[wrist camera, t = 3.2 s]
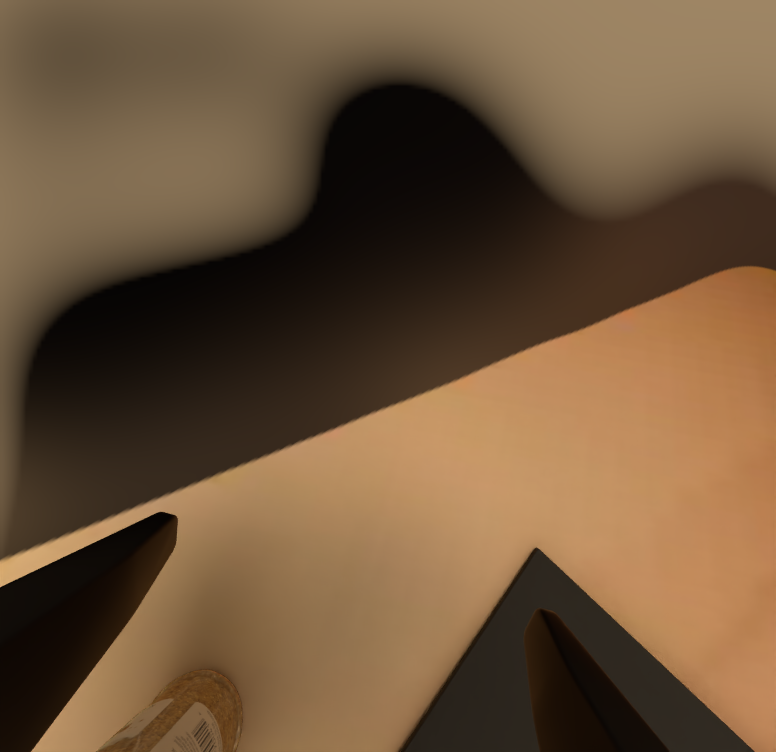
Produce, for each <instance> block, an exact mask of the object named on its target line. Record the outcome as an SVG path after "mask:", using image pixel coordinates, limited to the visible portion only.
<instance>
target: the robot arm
mask: <svg viewBox="0 0 776 752" xmlns="http://www.w3.org/2000/svg"><path fill="white" fill-rule="evenodd" d="M177 526H178V518H177V516H175V515H172V514H168V513H165V512H158V513H156V514H154V515H151V516H149V517H147V518H145V519H143V520H141V521H139V522H137V523H135V524H133V525H130V526H128V527H126V528H124V529H122V530H120V531H118V532H116V533H114V534H111V535H109V536H107V537H105V538H103V539H101V540H99V541H97V542H95V543H93V544H90V545H88V546H86V547H84V548H82V549H80V550H78V551H76V552H74V553H71V554H69V555H67V556H65V557H63V558H61V559H59V560H57V561H55V562H52V563H50V564H48V565H46V566H44V567H42V568H40V569H38V570H36V571H34V572H31V573H29V574H27V575H25V576H23V577H21V578H19V579H17V580H15V581H12V582H10V583H8V584H6V585H4V586H2V587H0V752H31V751H32V749H33V748H34V747H35V745H36V744H37V743H38V741H39V740H40V739H41V738H42V736H43V735H44V734H45V732H46V731H47V730H48V728H49V727H50V726H51V724H52V723H53V722H54V720H55V719H56V718H57V716H58V715H59V714H60V712H61V711H62V710H63V708H64V707H65V706H66V704H67V703H68V702H69V700H70V699H71V698H72V696H73V695H74V694H75V692H76V691H77V690H78V688H79V687H80V686H81V684H82V683H83V682H84V680H85V679H86V678H87V676H88V675H89V674H90V672H91V671H92V670H93V668H94V667H95V666H96V664H97V663H98V662H99V660H100V659H101V658H102V656H103V655H104V654H105V652H106V651H107V650H108V648H109V647H110V646H111V644H112V643H113V642H114V640H115V639H116V638H117V636H118V635H119V634H120V632H121V631H122V630H123V628H124V627H125V626H126V624H127V623H128V622H129V620H130V619H131V617H132V616H133V614H134V613H135V611H136V610H137V608H138V607H139V605H140V604H141V602H142V600H143V599H144V597H145V595H146V594H147V592H148V591H149V589H150V587H151V586H152V584H153V583H154V581H155V579H156V578H157V576H158V575H159V573H160V571H161V570H162V568H163V566H164V565H165V563H166V562H167V560H168V558H169V557H170V555H171V554H172V552H173V550H174V548H175V545H176V541H177ZM524 647H525V656H526V664H527V673H528V681H529V690H530V698H531V706H532V713H533V720H534V725H535V730H536V735H537V740H538V745H539V750H540V752H670V751H669V750H668V748H667V747H666V746H665V745H664V743H663V742H662V741H661V740H660V739H659V737H658V736H657V735H656V734H655V733H654V731H653V730H652V729H651V728H650V726H649V725H648V724H647V723H646V722H645V720H644V719H643V718H642V717H641V715H640V714H639V713H638V712H637V711H636V709H635V708H634V707H633V706H632V705H631V703H630V702H629V701H628V700H627V698H626V697H625V696H624V695H623V694H622V692H621V691H620V690H619V689H618V688H617V686H616V685H615V684H614V683H613V681H612V680H611V679H610V678H609V677H608V675H607V674H606V673H605V672H604V671H603V669H602V668H601V667H600V666H599V664H598V663H597V662H596V661H595V660H594V658H593V657H592V656H591V655H590V653H589V652H588V651H587V650H586V649H585V647H584V646H583V645H582V644H581V643H580V641H579V640H578V639H577V638H576V636H575V635H574V634H573V633H572V632H571V630H570V629H569V628H568V627H567V626H566V624H565V623H564V622H563V621H562V619H561V618H560V617H559V616H558V615H557V614H556V613H555V612H553V611H550V610H546V609H543V608H538V609H536V610H535V612H534V614H533V615H532V617H531V619H530V621H529V623H528V625H527V627H526V629H525V632H524Z"/></svg>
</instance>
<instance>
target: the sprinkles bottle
mask: <svg viewBox="0 0 776 752" xmlns="http://www.w3.org/2000/svg"><path fill="white" fill-rule="evenodd" d="M241 727H242V706H241V701H240V699H239V696H238V692H237V691H236V689H235V687H234V686H233V685H232V683H231V682H230V681H229V680H228V679H227V678H226V677H225V676H222V675H220V674H219V673H216V672H214V671H212V670H198V671H193V672H190V673H188V674H185V675H183V676H181V677H179V678H177V679H175V680H174V681H172V682H171V683H170V684H169V685H167V686H166V687H165V688H164V689H163V690H162V691H161V692H160V693H159V695H158V696H157V697H156V698H155V700H154V701H153V702H152V704H150V705H149V706H148V707H147V708H145V709H144V710H142V711H141V712H140V713H139V714H137V715H136V716H135V717H134V718H133V719H132V720H131V721H129V722H128V723H127V724H126V725H125V726H124V727H123V728H122V729H121V730H120V731H118V732H117V733H116V734H115V735H114V736H113V737H112V738H111V739H110V740H109V741H107V742H106V743H105V744H104V745H103V746H102V747H101V748H100V749H98V750H97V751H96V752H235V751H236V748H237V746H238V743H239V739H240V736H241Z"/></svg>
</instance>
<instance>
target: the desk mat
mask: <svg viewBox="0 0 776 752" xmlns="http://www.w3.org/2000/svg"><path fill="white" fill-rule="evenodd" d="M538 608H543V609H546V610H550V611H553V612H555V613H556V614H557V615H558V616H559V617H560V618H561V619H562V621H563V622H564V623H565V624H566V626H567V627H568V628H569V629H570V630H571V632H572V633H573V634H574V635H575V636H576V638H577V639H578V640H579V641H580V643H581V644H582V645H583V646H584V647H585V649H586V650H587V651H588V652H589V653H590V655H591V656H592V657H593V658H594V660H595V661H596V662H597V663H598V664H599V666H600V667H601V668H602V669H603V671H604V672H605V673H606V674H607V675H608V677H609V678H610V679H611V680H612V681H613V683H614V684H615V685H616V686H617V688H618V689H619V690H620V691H621V692H622V694H623V695H624V696H625V697H626V698H627V700H628V701H629V702H630V703H631V705H632V706H633V707H634V708H635V709H636V711H637V712H638V713H639V714H640V715H641V717H642V718H643V719H644V720H645V722H646V723H647V724H648V725H649V726H650V728H651V729H652V730H653V731H654V733H655V734H656V735H657V736H658V737H659V739H660V740H661V741H662V742H663V743H664V745H665V746H666V747H667V748H668V750H669V751H670V752H754V751H753V750H752V749H751V748H750V747H749V746H748V745H747V744H746V743H745V742H744V741H743V740H742V739H741V738H740V737H738V736H737V735H736V734H735V733H734V732H733V731H732V730H731V729H730V728H729V727H728V726H727V725H726V724H725V723H724V722H723V721H721V720H720V719H719V718H718V717H717V716H716V715H715V714H714V713H713V712H712V711H711V710H710V709H709V708H708V707H707V706H705V705H704V704H703V703H702V702H701V701H700V700H699V699H698V698H697V697H696V696H695V695H694V694H693V693H692V692H691V691H690V690H688V689H687V688H686V687H685V686H684V685H683V684H682V683H681V682H680V681H679V680H678V679H677V678H676V677H675V676H674V675H673V674H671V673H670V672H669V671H668V670H667V669H666V668H665V667H664V666H663V665H662V664H661V663H660V662H659V661H658V660H657V659H656V658H654V657H653V656H652V655H651V654H650V653H649V652H648V651H647V650H646V649H645V648H644V647H643V646H642V645H641V644H640V643H638V642H637V641H636V640H635V639H634V638H633V637H632V636H631V635H630V634H629V633H628V632H627V631H626V630H625V629H624V628H623V627H621V626H620V625H619V624H618V623H617V622H616V621H615V620H614V619H613V618H612V617H611V616H610V615H609V614H608V613H607V612H606V611H604V610H603V609H602V608H601V607H600V606H599V605H598V604H597V603H596V602H595V601H594V600H593V599H592V598H591V597H590V596H589V595H587V594H586V593H585V592H584V591H583V590H582V589H581V588H580V587H579V586H578V585H577V584H576V583H575V582H574V581H573V580H572V579H570V578H569V577H568V576H567V575H566V574H565V573H564V572H563V571H562V570H561V569H560V568H559V567H558V566H557V565H556V564H554V563H553V562H552V561H551V560H550V559H549V558H548V557H547V556H546V555H545V554H544V553H543V552H542V551H541V550H540V549H538V548H535V550H534V551H533V553H532V554H531V556H530V557H529V559H528V560H527V562H526V563H525V565H524V566H523V568H522V569H521V571H520V572H519V574H518V575H517V577H516V578H515V580H514V581H513V583H512V584H511V586H510V587H509V589H508V590H507V592H506V593H505V595H504V596H503V598H502V599H501V601H500V602H499V604H498V605H497V607H496V608H495V610H494V612H493V613H492V615H491V616H490V618H489V619H488V621H487V622H486V624H485V625H484V627H483V628H482V630H481V631H480V633H479V634H478V636H477V637H476V639H475V640H474V642H473V643H472V645H471V646H470V648H469V649H468V651H467V652H466V654H465V655H464V657H463V658H462V660H461V661H460V663H459V664H458V666H457V667H456V669H455V670H454V672H453V673H452V675H451V676H450V678H449V679H448V681H447V682H446V684H445V685H444V687H443V688H442V690H441V691H440V693H439V694H438V696H437V697H436V699H435V700H434V702H433V703H432V705H431V707H430V708H429V710H428V711H427V713H426V714H425V716H424V717H423V719H422V720H421V722H420V723H419V725H418V726H417V728H416V729H415V731H414V732H413V734H412V735H411V737H410V738H409V740H408V741H407V743H406V744H405V746H404V747H403V749H402V750H401V752H540V750H539V745H538V740H537V735H536V730H535V725H534V720H533V713H532V706H531V698H530V690H529V681H528V673H527V664H526V656H525V647H524V632H525V629H526V627H527V625H528V623H529V621H530V619H531V617H532V615H533V614H534V612H535V610H536V609H538Z"/></svg>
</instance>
